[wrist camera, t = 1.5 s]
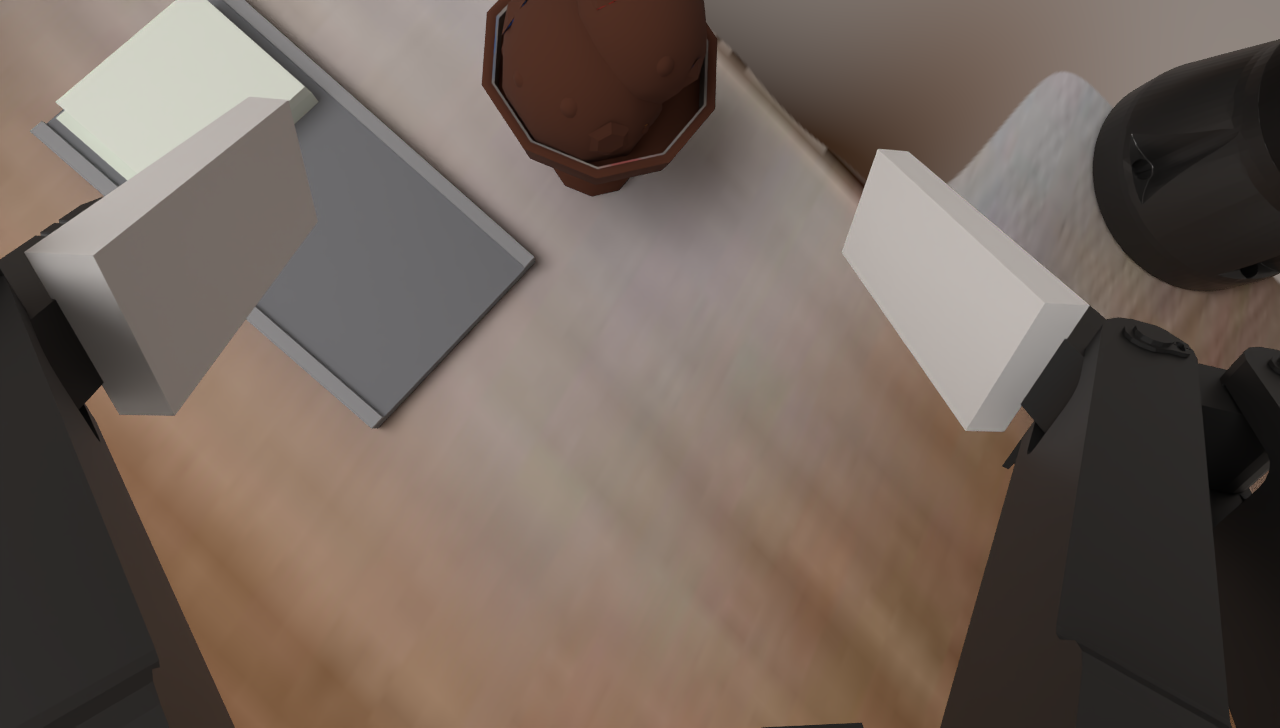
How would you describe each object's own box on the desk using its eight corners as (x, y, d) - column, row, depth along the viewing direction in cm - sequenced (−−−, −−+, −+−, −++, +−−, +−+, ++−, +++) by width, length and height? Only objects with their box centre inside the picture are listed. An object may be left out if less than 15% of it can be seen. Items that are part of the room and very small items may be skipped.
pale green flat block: (318, 101, 35) (306, 85, 33) (184, 225, 33) (163, 215, 31) (211, 6, 34) (193, -15, 33) (71, 127, 33) (44, 111, 31)
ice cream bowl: (616, 37, 38) (647, -211, 23) (714, 185, 38) (808, 30, 23) (468, 118, 36) (400, -92, 22) (570, 273, 36) (572, 168, 21)
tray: (535, 261, 36) (534, 257, 35) (377, 428, 34) (371, 428, 33) (225, -13, 35) (215, -26, 34) (47, 140, 33) (29, 131, 32)
